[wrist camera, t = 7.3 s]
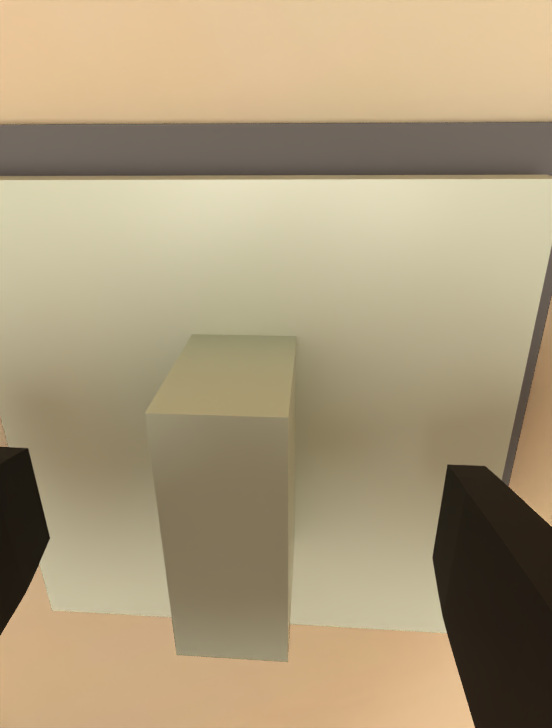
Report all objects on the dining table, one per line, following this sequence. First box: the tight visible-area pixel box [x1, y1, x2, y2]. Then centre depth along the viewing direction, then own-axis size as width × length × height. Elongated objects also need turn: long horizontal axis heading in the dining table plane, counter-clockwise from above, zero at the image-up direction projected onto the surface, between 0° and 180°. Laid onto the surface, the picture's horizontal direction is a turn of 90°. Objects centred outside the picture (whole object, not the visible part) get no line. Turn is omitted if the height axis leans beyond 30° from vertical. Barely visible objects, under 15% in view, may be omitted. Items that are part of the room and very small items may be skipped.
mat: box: [0, 122, 552, 486], centre depth 12 cm, size 12×12×1 cm
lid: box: [0, 175, 552, 662], centre depth 10 cm, size 11×11×4 cm
